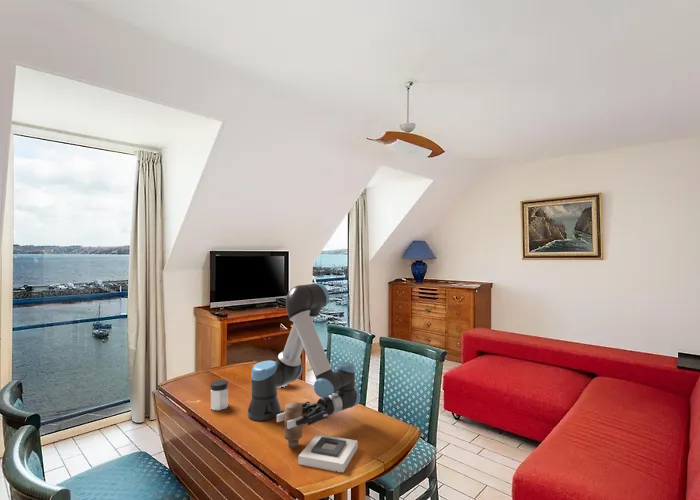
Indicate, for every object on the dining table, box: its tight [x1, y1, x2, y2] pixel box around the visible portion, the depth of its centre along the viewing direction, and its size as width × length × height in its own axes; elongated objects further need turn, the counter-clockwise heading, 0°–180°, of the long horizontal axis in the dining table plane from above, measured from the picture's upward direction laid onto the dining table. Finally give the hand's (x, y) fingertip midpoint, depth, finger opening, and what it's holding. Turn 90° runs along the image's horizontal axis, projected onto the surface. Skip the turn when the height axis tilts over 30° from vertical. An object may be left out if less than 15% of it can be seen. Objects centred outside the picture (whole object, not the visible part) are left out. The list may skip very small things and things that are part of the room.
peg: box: [284, 401, 303, 450], centre depth 150 cm, size 7×7×16 cm
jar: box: [209, 379, 229, 411], centre depth 187 cm, size 9×8×12 cm
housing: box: [297, 433, 359, 474], centre depth 143 cm, size 17×17×4 cm
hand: (282, 421), depth 147 cm, fingers closed on peg, 7 cm apart
